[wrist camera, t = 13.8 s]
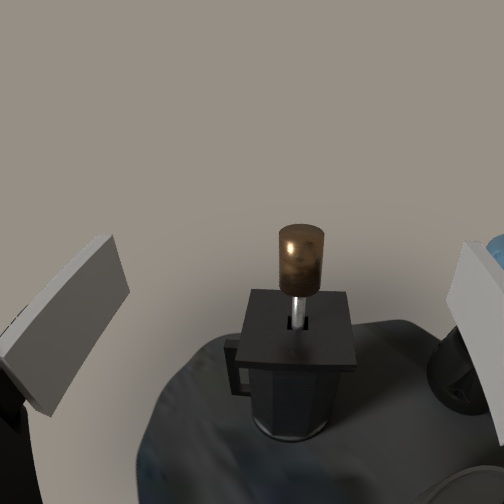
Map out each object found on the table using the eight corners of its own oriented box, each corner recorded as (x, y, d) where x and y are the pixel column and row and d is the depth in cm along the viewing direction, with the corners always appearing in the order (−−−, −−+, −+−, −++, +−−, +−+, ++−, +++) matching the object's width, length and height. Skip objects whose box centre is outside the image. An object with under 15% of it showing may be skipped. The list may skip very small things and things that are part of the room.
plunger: (321, 373, 38) (341, 216, 27) (321, 419, 32) (352, 257, 21) (266, 371, 39) (261, 214, 28) (260, 416, 33) (250, 255, 22)
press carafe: (329, 380, 41) (345, 291, 33) (330, 443, 32) (356, 364, 24) (241, 376, 43) (231, 287, 35) (228, 437, 34) (208, 357, 26)
